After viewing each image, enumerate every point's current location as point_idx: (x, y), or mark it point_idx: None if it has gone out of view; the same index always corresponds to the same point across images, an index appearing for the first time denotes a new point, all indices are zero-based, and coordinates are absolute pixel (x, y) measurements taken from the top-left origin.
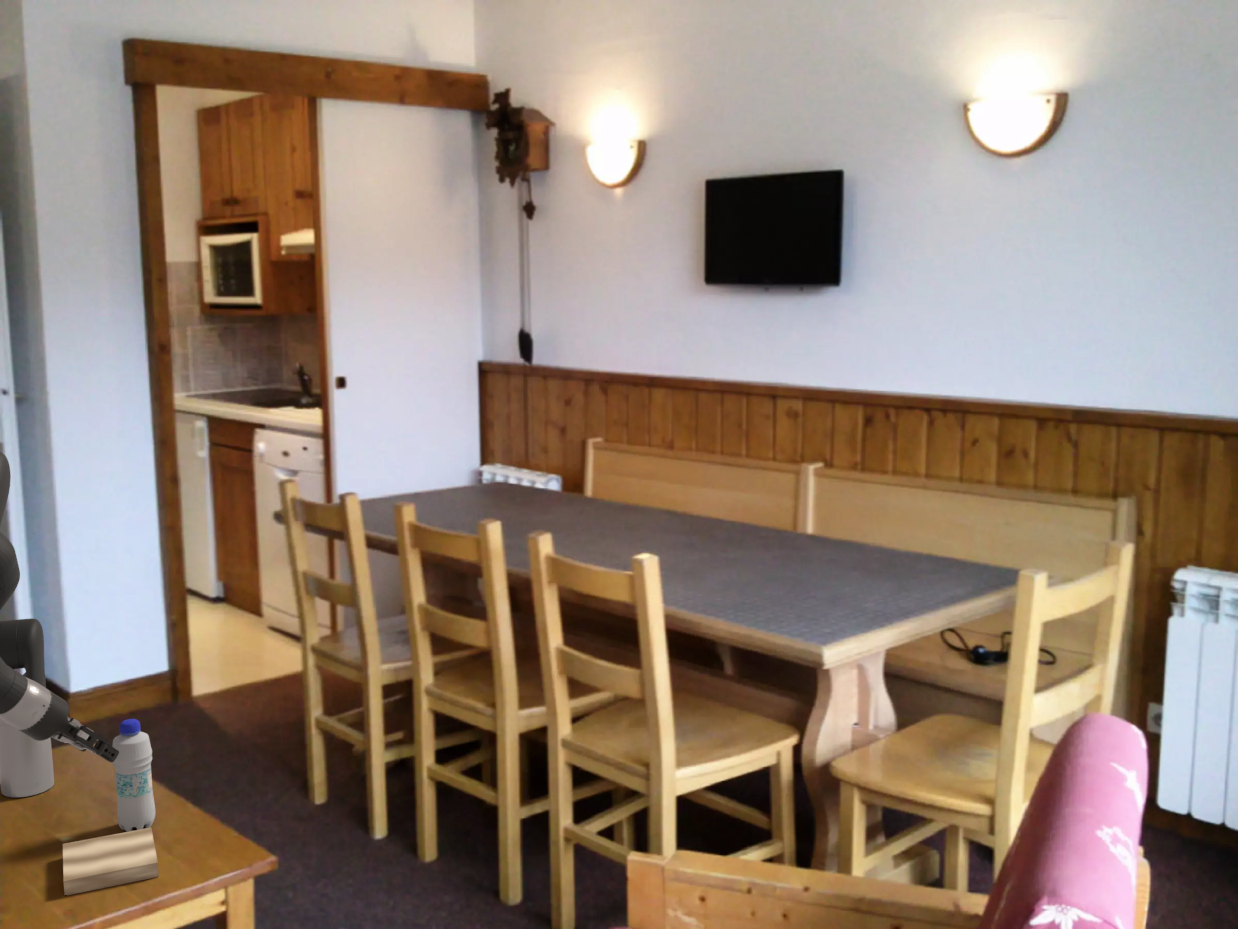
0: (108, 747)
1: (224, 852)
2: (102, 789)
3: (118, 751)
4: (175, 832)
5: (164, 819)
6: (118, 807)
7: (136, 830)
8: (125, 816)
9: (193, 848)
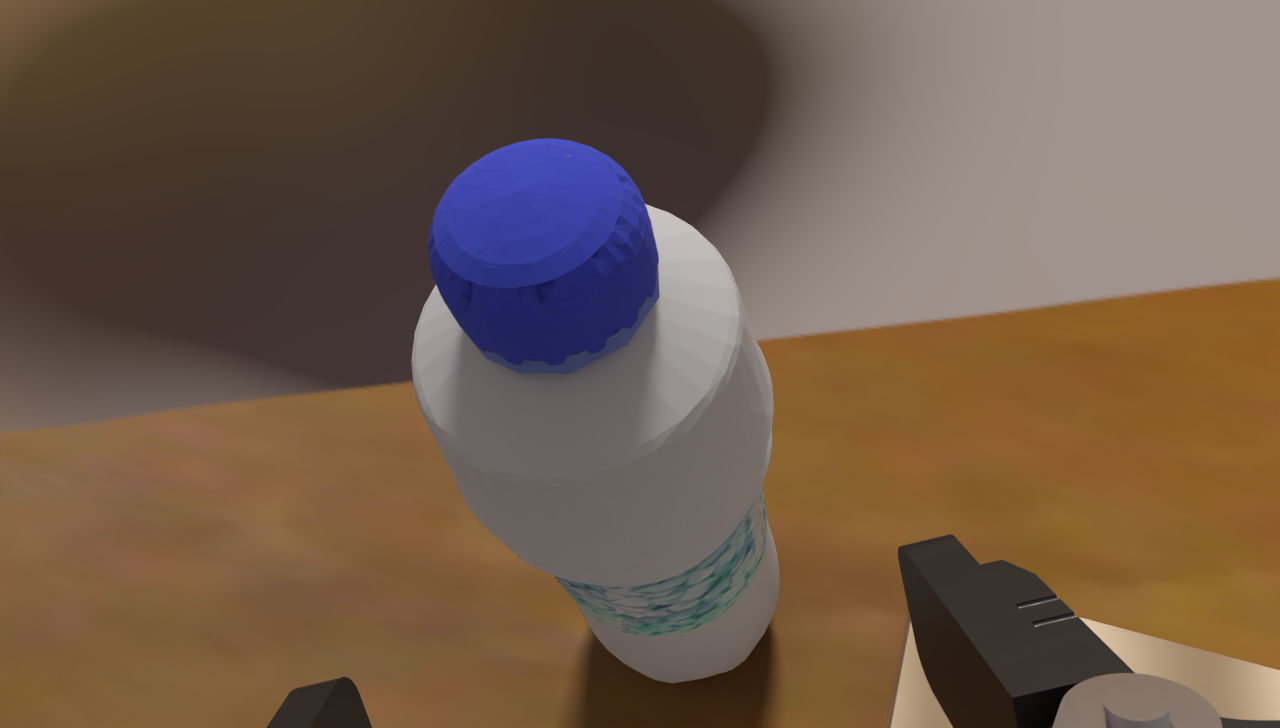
0: (1124, 666)
1: (1259, 379)
2: (154, 574)
3: (952, 538)
4: (878, 476)
5: None
6: (670, 658)
7: (908, 655)
8: (735, 649)
9: (1127, 472)
